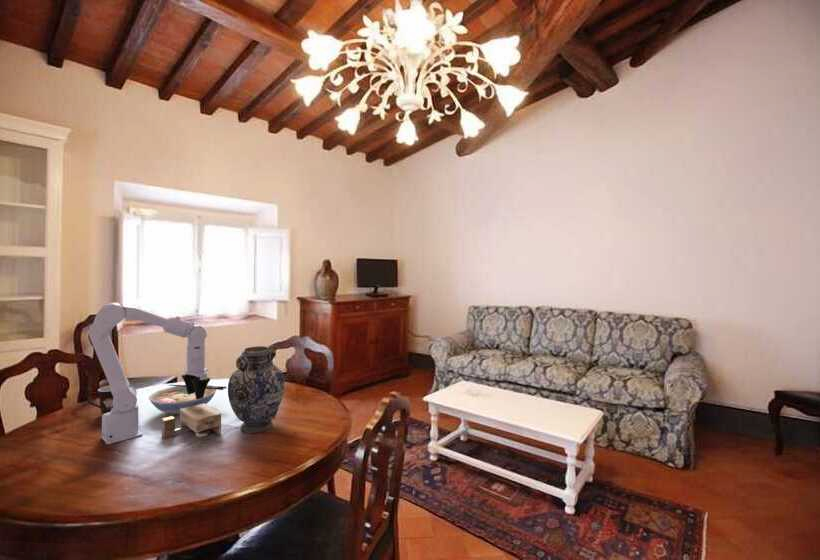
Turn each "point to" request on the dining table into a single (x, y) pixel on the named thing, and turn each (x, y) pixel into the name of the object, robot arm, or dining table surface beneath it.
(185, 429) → the wood grain brick
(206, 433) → the button
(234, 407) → the decorative vase
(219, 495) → the dining table surface
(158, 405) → the ramen bowl
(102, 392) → the coffee mug
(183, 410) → the tan slab
